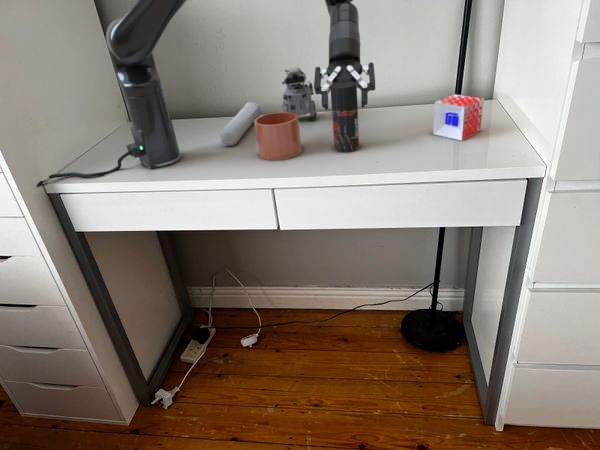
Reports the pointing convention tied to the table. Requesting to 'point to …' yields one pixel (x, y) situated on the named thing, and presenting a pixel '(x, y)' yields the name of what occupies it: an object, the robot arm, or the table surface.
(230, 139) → the tube
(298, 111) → the figurine
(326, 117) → the table surface
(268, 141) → the cup
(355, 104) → the deodorant
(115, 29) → the robot arm
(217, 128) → the table surface
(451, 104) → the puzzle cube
